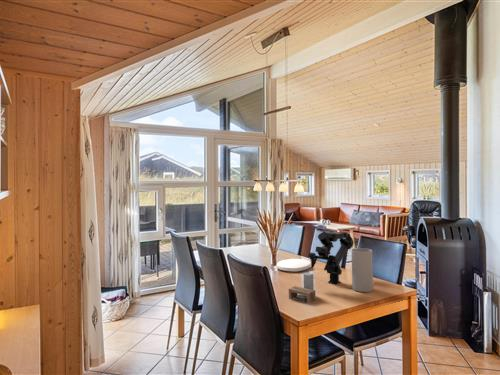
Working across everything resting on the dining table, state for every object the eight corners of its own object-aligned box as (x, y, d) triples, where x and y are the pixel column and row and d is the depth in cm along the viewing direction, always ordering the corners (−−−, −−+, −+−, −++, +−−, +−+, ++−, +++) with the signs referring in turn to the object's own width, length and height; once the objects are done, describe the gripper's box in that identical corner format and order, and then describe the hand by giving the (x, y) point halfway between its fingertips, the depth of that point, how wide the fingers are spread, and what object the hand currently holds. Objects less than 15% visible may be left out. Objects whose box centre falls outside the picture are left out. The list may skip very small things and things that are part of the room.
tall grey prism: (306, 293, 207) (305, 272, 207) (314, 295, 203) (314, 274, 203) (296, 298, 199) (295, 276, 199) (305, 300, 195) (304, 278, 195)
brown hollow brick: (295, 294, 206) (295, 286, 205) (315, 299, 196) (315, 290, 196) (288, 298, 200) (288, 288, 200) (309, 303, 191) (309, 293, 191)
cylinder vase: (364, 285, 221) (363, 247, 221) (377, 291, 209) (376, 250, 209) (348, 288, 217) (347, 249, 216) (360, 293, 205) (360, 252, 205)
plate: (298, 268, 250) (269, 264, 267) (299, 277, 251) (270, 272, 268) (316, 257, 272) (288, 254, 288) (317, 265, 272) (289, 261, 289)
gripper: (309, 240, 222) (300, 259, 214) (335, 242, 210) (326, 264, 202) (315, 250, 228) (307, 269, 220) (341, 253, 216) (333, 274, 208)
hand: (318, 269), depth 212 cm, fingers open, 9 cm apart
